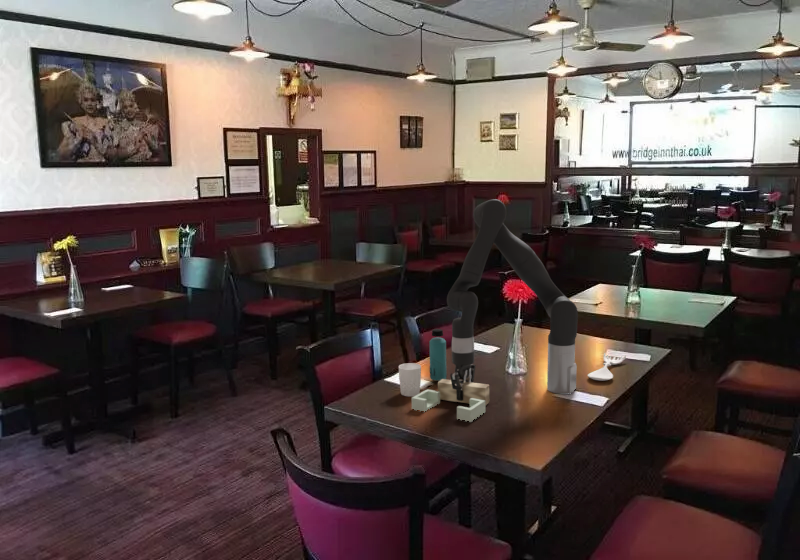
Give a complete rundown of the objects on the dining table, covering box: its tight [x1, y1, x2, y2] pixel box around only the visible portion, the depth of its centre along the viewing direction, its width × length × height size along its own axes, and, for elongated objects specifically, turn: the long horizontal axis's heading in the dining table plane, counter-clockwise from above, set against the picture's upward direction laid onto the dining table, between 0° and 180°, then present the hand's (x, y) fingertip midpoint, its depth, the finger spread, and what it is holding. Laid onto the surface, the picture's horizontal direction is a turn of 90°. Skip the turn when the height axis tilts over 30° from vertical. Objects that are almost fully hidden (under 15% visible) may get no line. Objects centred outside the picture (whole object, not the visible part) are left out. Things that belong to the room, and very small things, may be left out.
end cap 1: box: [411, 389, 441, 413], centre depth 222 cm, size 5×10×4 cm, turn 146°
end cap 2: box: [456, 398, 486, 423], centre depth 212 cm, size 5×10×4 cm, turn 146°
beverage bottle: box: [428, 328, 448, 382], centre depth 245 cm, size 6×7×20 cm
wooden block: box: [437, 378, 490, 407], centre depth 225 cm, size 17×4×6 cm, turn 64°
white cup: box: [398, 362, 422, 397], centre depth 234 cm, size 8×8×10 cm
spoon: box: [587, 352, 627, 382], centre depth 255 cm, size 9×32×4 cm, turn 151°
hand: (463, 397), depth 225 cm, fingers closed on wooden block, 4 cm apart
